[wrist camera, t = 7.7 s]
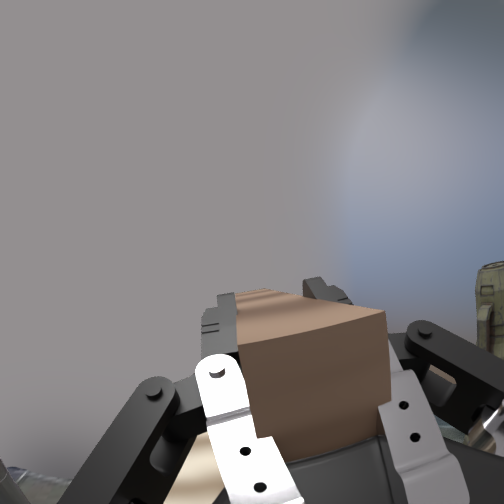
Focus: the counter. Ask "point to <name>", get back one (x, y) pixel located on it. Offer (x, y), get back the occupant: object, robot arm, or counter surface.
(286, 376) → the walnut bar
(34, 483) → the counter surface
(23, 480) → the counter surface
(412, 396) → the robot arm
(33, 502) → the counter surface
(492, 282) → the thermos
